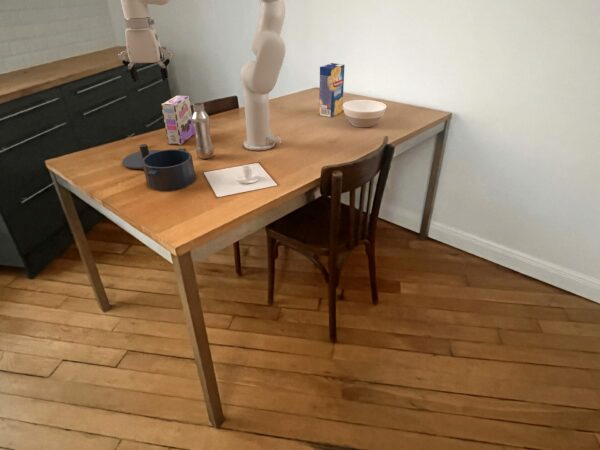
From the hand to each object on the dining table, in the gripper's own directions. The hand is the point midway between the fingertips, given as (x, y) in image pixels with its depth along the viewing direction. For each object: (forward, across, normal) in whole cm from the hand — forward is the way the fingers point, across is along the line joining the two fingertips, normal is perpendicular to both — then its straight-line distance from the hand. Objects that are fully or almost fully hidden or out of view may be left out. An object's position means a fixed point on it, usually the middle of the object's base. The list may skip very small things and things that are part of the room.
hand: (150, 80), depth 136 cm
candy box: (+29, -1, -22) cm, 36 cm away
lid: (+28, +7, +1) cm, 29 cm away
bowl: (+30, -79, -37) cm, 92 cm away
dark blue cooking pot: (+29, -6, +18) cm, 34 cm away
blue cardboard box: (+30, -66, -54) cm, 90 cm away
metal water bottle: (+29, -14, -2) cm, 32 cm away
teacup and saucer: (+29, -29, +18) cm, 44 cm away
